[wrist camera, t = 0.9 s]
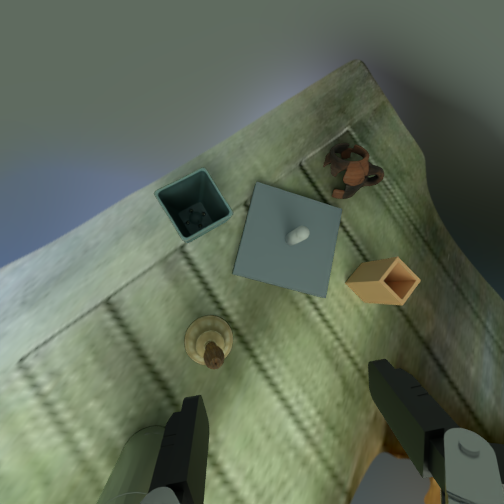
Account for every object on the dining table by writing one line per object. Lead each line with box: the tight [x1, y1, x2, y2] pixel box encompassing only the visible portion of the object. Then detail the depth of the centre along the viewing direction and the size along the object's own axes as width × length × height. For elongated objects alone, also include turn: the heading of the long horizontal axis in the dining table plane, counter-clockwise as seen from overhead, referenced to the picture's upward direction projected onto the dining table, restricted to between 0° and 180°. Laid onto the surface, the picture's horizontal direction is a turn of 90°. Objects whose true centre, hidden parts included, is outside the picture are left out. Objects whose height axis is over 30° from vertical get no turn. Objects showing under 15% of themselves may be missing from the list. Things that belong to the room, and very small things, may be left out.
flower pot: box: [154, 167, 233, 243], centre depth 43 cm, size 9×9×9 cm
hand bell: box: [184, 315, 233, 369], centre depth 37 cm, size 8×8×16 cm
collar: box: [345, 257, 421, 305], centre depth 48 cm, size 6×6×10 cm
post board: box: [232, 182, 342, 298], centre depth 47 cm, size 18×18×8 cm
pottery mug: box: [323, 143, 384, 199], centre depth 53 cm, size 12×10×8 cm
